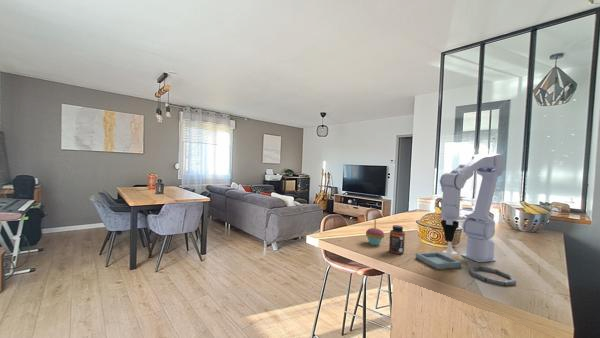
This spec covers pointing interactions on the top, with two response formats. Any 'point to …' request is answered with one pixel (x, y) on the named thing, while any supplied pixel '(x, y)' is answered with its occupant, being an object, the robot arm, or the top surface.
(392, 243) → the supplement bottle
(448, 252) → the chess piece
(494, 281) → the collar
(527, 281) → the top surface
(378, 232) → the cupcake
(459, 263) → the tray
